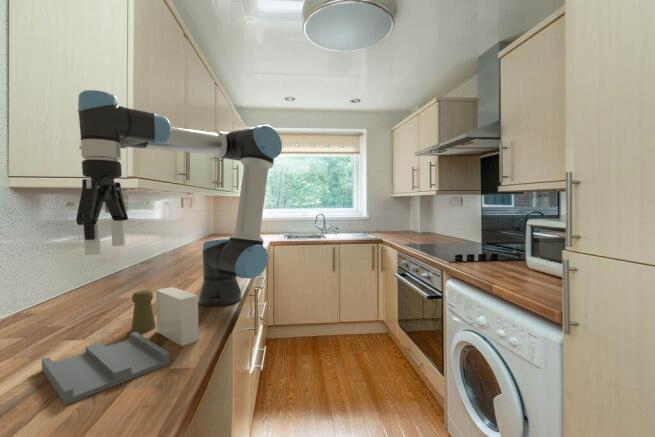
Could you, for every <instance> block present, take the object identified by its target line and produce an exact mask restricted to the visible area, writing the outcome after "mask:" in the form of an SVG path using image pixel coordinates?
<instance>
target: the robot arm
mask: <svg viewBox="0 0 655 437" xmlns="http://www.w3.org/2000/svg"><path fill="white" fill-rule="evenodd" d="M77 102H78V106H77V107H78V110H77V113H78V120H79V121H78V124H79V133H80V145H79V147H78V148H79V149H80V150H81V157H82V158H83V160H82V161H81V169H82V170H81V172H82V176H83V177H86V178H83V179H82V181H81V182H82V184H81V186H82V189H81V193H80V199H79V204H78V209H77V212H76V213H77V214H76V217H75V218H76V224H77V226H82V227H83V228H82V229H83V244H84V255H85V256H88V255H89V256H91V255H93V256H94V255H101V254H102V250H101V249H102V248H101V233H100V231H101V230H100V224H97V222H98V220H99V217H100V214H101V211H102V208H103V204H104V203H105V206H106V207H107V208H106V209H108V212H109V214H110V217H111V218H112V220H110V228H111V230H110V231H111V232H110V233H111V245H112V247H120V246H122V247H123V246H126V238H125V237H126V235H125V221H128V219H129V218H128V213H127V208H126V205H125V200H124V197H123V193H122V192H123V191H122V189H121V188H122V186H121V185H122V184H121V182H115V179H118V178H122V163H121V162H120V161H121V159H122V152H121V149H126V148H135V149H149V150H161V151H170V152H181V153H191V154H192V153H194V154H200V155H201V154H202V155H213V156H214V158H218V159H226V160H231V161H232V160H233V161H238V162H239V161H240V163H241V164H242V165H243V170H242V178H241V186H240V192H239V201H238V207H237V208H238V209H237V215H236V216H237V217H236V220H235V221H236V223H235V227H234V229H235V231H234V233H233V234H231V235H230V236H229V237H228V238H221V239H211V240H205V241H204V242H203V244H202V269H203V270H202V272H203V274H202V275H203V277H202V278H203V281H202V284H201V288H200V291H199V294H198V304H200V305H202V306H204V307H205V306H207V307H221V306H228V305H232V304H234V303H235V304H236V303H237V302H239V301H241V300H242V291H241V288H240V285H239V282H238V280H237V277H238V278H240V279H250V280H251V279H255V278H257V277H259V276H261V274H262V273H264V271H265V269H266V268H267V267H268V266H267V265H268V263H269V253H268V252H267V249H266V247H264V239H263V238H262V237H261V230H262V220H263V212H264V205H265V199H266V198H265V196H266V189H267V182H268V175H269V174H268V173H269V170H270V169H271V168H273V167H274V159H276V158H278V157H279V155H281V153H282V149H283V143H282V139H281V137H280V135H279V133H278V131H277V130H276V129H275V128H274V127H272V126H271V125H269V124H263V125H256V126H252V127H247V128H242V129H237V130H233V131H220V130H218V131H215V132H207V131H201V130H195V129H188V128H180V127H176V126H175V127H174V126H171V122H170V120H169V119H168V118H167V117H166V116H165V115H162V114H159V113H155V112H149V111H144V110H138V109H135V108H129V107H124V106H122V105H120V104H119V100H118V97H117V96H116V95H114V94H112V93H110V92H107V91H101V90H95V89H92V90H91V89H89V90H86V89H85V90H83V91H82V92H80V93H79V95H78V101H77Z"/></svg>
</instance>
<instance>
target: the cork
mask: <svg viewBox="0 0 655 437" xmlns="http://www.w3.org/2000/svg"><path fill="white" fill-rule="evenodd" d="M153 299H154V294H153V291H152V290H150V289H149V290H148V289H143V290H137V291H135V292H134V293H133V294H132V296H131V300H132V302H133V304H134V307H133V315H132V323H131V333H133V332H137V333H139V334H140V333H145V332H149V331H151V330H154V329H155V328H156V322H155V315H154V311H153V310H154V309H153V306H152V305H153V304H152V300H153Z"/></svg>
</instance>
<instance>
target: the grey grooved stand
mask: <svg viewBox="0 0 655 437" xmlns="http://www.w3.org/2000/svg"><path fill="white" fill-rule="evenodd" d="M129 336H130V338H129V339H126V340H122V341H118V342H116V343H113V344H110V345H105V344H104V343H103V342H101V341H99V342H95V343H93V344H89V345H86V346H85V352H83V353H80V354H77V355H73V356H70V357H67V358H64V359H60V360H57V361H55V362H54V361H52V359H51V357H49V356H48V357H45V358H42V359H41V369H42V370H41V371H42V372H43V375H45V377H46V379H47V380H48V382H49V383H50V385H51V387H52V388H53V390H55V392H56V394H57V395H58V396H59V398H60V400H61V401H62V403H63V404H64V406H68V405H69V404H72V403H75V402H77V401H80V400H83V399H85V398H87V397H90V396H92V395H94V394H95V395H96V394H97V393H100V392H102V391H105V390H108V389H110V388H113V387H116V386H117V385H120V384H122V383H125V382H128V381H130V380H132V379H135V378H137V377H140V376H142V375H144V374H147V373H150V372H153V371H155V370H157V369H160V368H163V367H165V366H167V365H170V364H171V360H170V359H171V358H170V356H171V354H170V352H169V351H167V350H166V349H164V348H163V347H161V346H160V345H158V344H156V343H154V342H153V341H151V340H149V339H148V338H146V337H145V336H143V335H141V334H140V333H137V332H130V335H129Z"/></svg>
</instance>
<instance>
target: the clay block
mask: <svg viewBox="0 0 655 437" xmlns="http://www.w3.org/2000/svg"><path fill="white" fill-rule="evenodd" d="M155 296H156V299H155V301H156V324H157V325H156V327H157V328H156V329H157V333H158V334H160V335H161V336H163V337H165V338H167V339H168V340H170V341H172V342H174V343H176V344H177V345H179V346H181V347H184V346H186V345H190V344H192V343H194V342H198V341H199V338H200V334H199V330H200V329H199V294H194V293H192V292H188V291H185V290H183V289H179V288H177V287H173V286H171V287H166V288H161V289H157V290H156V292H155Z"/></svg>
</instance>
